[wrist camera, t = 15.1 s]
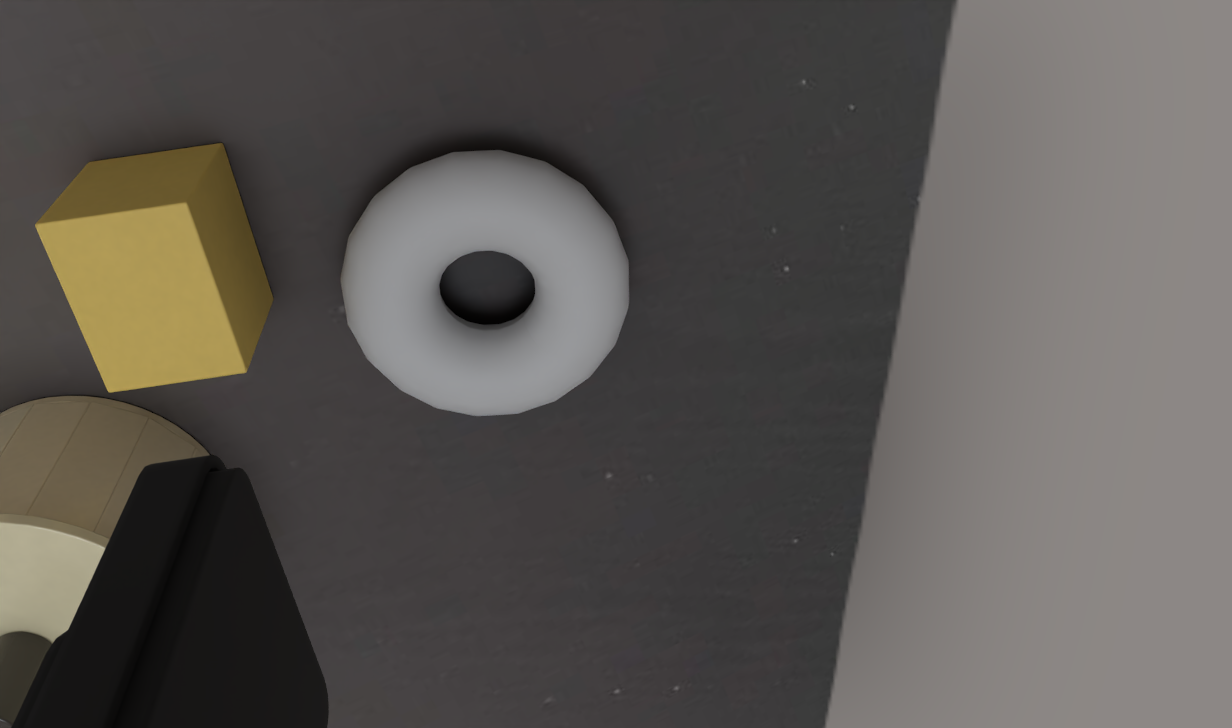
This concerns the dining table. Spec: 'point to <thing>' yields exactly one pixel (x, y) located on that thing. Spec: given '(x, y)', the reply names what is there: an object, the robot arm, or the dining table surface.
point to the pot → (81, 457)
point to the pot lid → (38, 595)
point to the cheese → (159, 267)
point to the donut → (482, 221)
